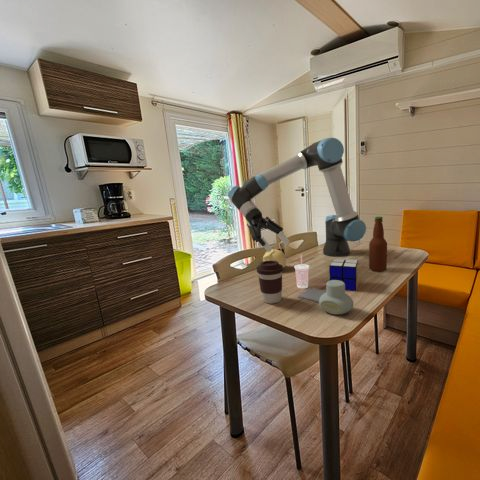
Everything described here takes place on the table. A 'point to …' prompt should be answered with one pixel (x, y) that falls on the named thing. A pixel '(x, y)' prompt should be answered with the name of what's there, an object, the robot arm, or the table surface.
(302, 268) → the beverage cup
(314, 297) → the slate coaster
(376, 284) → the table surface
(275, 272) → the coffee cup
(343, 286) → the air freshener
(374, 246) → the bottle
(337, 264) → the puzzle cube
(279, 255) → the sculpture
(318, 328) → the table surface
